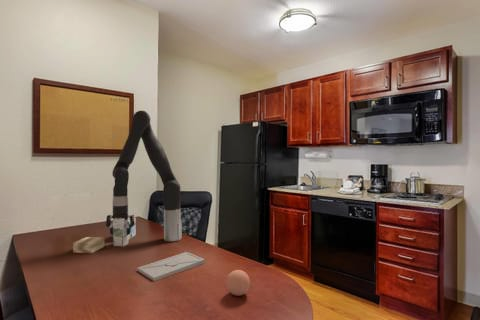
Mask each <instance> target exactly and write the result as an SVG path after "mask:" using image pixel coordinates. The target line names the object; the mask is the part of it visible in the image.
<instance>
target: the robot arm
mask: <svg viewBox="0 0 480 320" xmlns="http://www.w3.org/2000/svg"><path fill="white" fill-rule="evenodd" d="M153 130H154V129H153V127H152V124H151V116H150V115H149V113H148V112H147V111H145V110H138V111H135V112H134V114H133V115H132V122H131V128H130V131H129V134H128V135H127V139H126V141H125V143H124V145H123V148H122V150H121V152H120V154H119V158H118V160H117V161H116V163H115V166H114V167H113V169H112V177H113V178H114V186H113V188H112V191H113V193H112V215H111V214H108V215H106V221H105V222H106V223H105V226H106V227H108V228H109V234H110V235H111V236H113V221H112V220H113V219H114V218H115V219H118V218H120V219H123V218H125V221H126V220H127V219H128V218H129V219H130V223H129V221H128V220H127V222H125V221H124V225H126V227H127V235H129V234H130V233H131V227H133V226H134V225H135V224H134V217H135V215H134V214H131V215H129V198H128V184H129V176H130V175H129V174H130V173H129V168H130V165H131V164H132V163H133V161H134V158H135V157H136V154H137V151H138V147H139V143H140V141H141V140H142V143H143V145H144V149H145V152H146V153H147V156H148V159H149V161H150V163H151V164H152V166H153V169H155V171H156V172H157V173H158V176H159V177H160V179H161V182H162V185H163V190H162V194H163V195H162V200H163V202H162V203H163V240H164V241H165V242H176V241H177V242H178V241H180V240H182V237H183V235H182V230H183V229H182V227H183V226H182V225H183V224H182V223H183V222H182V221H181V220H182V219H181V218H182V217H181V216H182V215H181V210H182V209H181V207H182V206H181V189H182V188H181V185H180V183H179V182H178V180H177V178H176V176H175V175H174V173H173V171H172V168H171V163H170V162H169V159H168V157H167V154H166V152H165V149H164V147H163V146H162V143H161V142H160V140H159V139H158V138H157V136H156V135H155V132H154V131H153ZM111 221H112V222H111Z"/></svg>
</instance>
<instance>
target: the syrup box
mask: <svg viewBox="0 0 480 320" xmlns="http://www.w3.org/2000/svg"><path fill="white" fill-rule="evenodd" d="M127 220H128V219H127ZM127 220H126V221H125V218H123V219H120V218H118V219H115V218H114V219H113V218H112V222H113V235H112V242H113V243H112V245H113V247H125V246H126V245H128V244H129V240H128V235H127V227H126V225H124V221H125V222H127Z"/></svg>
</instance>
